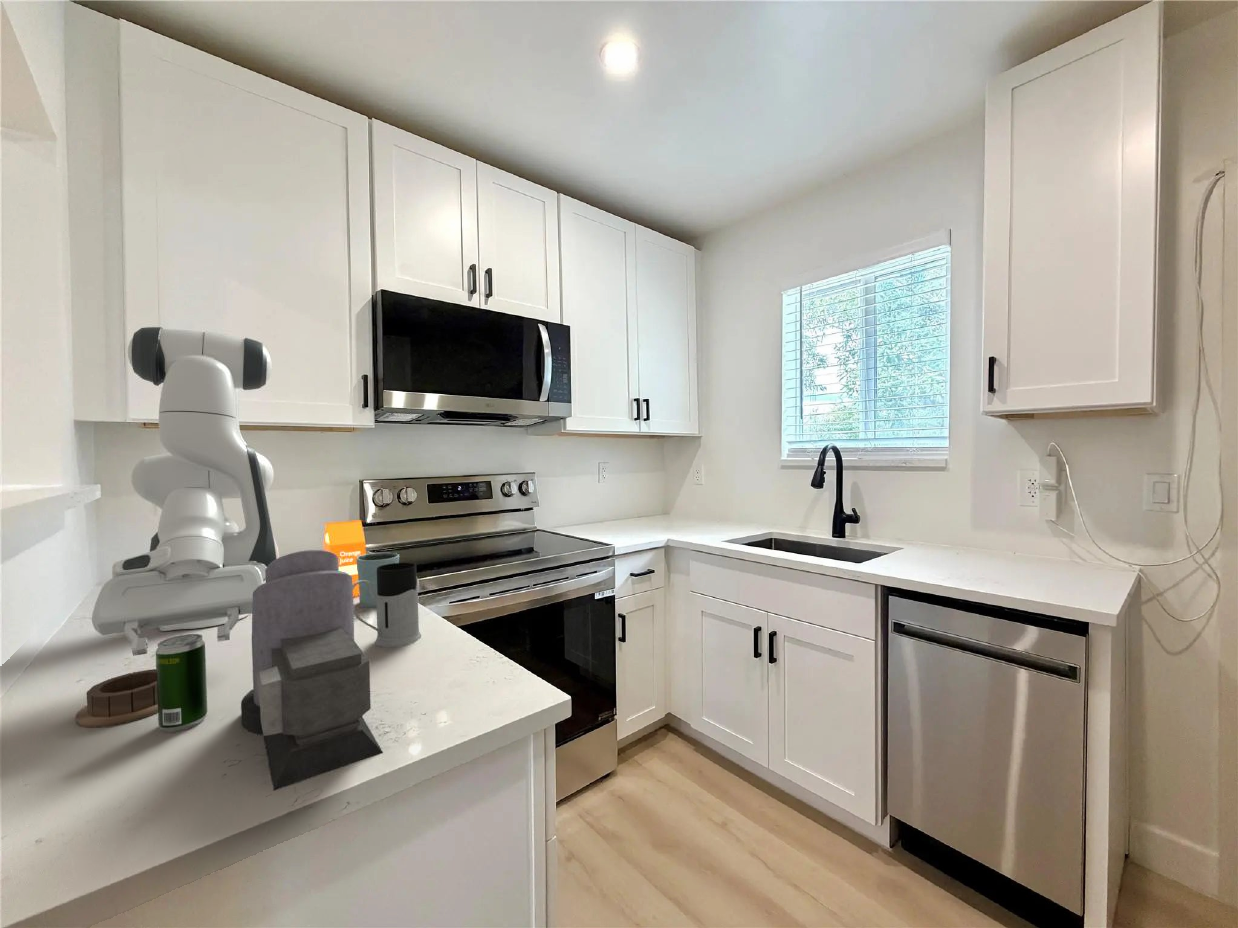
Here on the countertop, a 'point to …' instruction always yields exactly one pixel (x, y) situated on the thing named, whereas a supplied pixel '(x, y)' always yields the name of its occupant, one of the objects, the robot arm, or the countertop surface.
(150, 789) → the countertop surface
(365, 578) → the teal cup
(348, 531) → the orange juice
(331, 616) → the juicer
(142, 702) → the collar coaster
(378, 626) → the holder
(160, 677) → the beer can
